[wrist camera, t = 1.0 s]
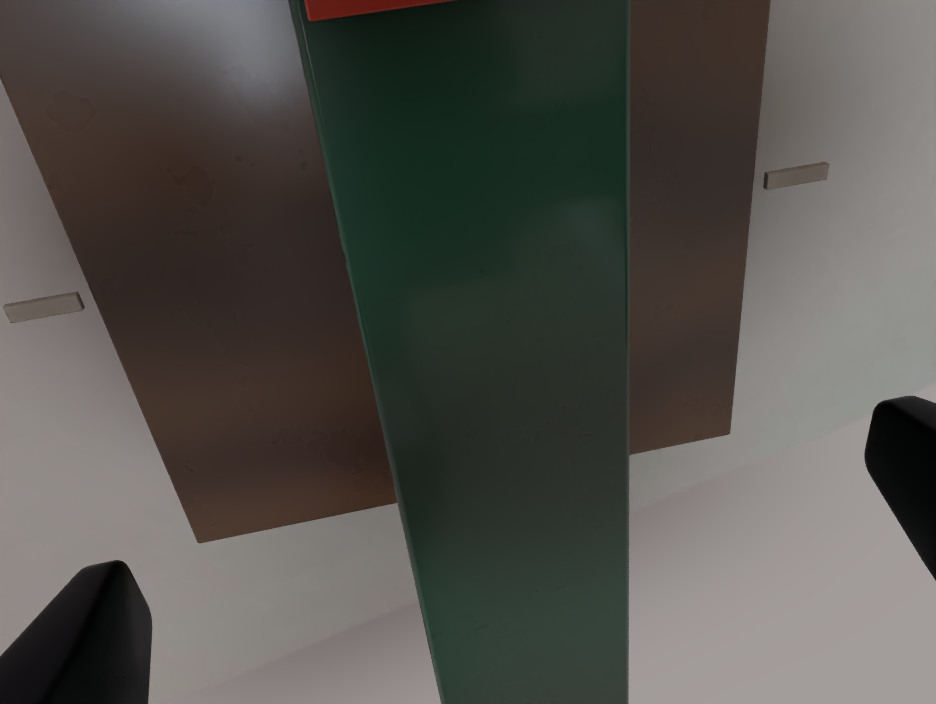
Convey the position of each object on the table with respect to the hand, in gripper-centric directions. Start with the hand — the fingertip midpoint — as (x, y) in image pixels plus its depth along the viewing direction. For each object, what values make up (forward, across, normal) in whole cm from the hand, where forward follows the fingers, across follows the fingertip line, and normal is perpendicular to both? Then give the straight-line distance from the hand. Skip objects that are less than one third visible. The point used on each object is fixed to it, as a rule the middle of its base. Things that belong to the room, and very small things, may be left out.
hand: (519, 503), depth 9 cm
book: (+8, 0, 0) cm, 8 cm away
